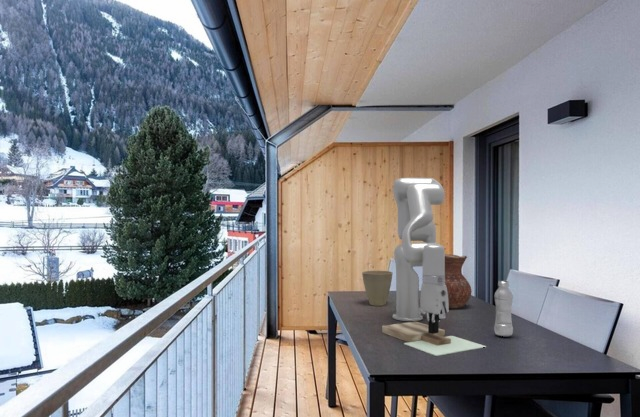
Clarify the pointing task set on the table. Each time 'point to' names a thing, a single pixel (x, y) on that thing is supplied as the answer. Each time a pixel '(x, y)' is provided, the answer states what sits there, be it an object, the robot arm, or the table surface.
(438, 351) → the sage mat
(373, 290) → the plant pot
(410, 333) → the board
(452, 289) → the jug
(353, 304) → the table surface
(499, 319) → the plastic bottle
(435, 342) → the walnut tile
